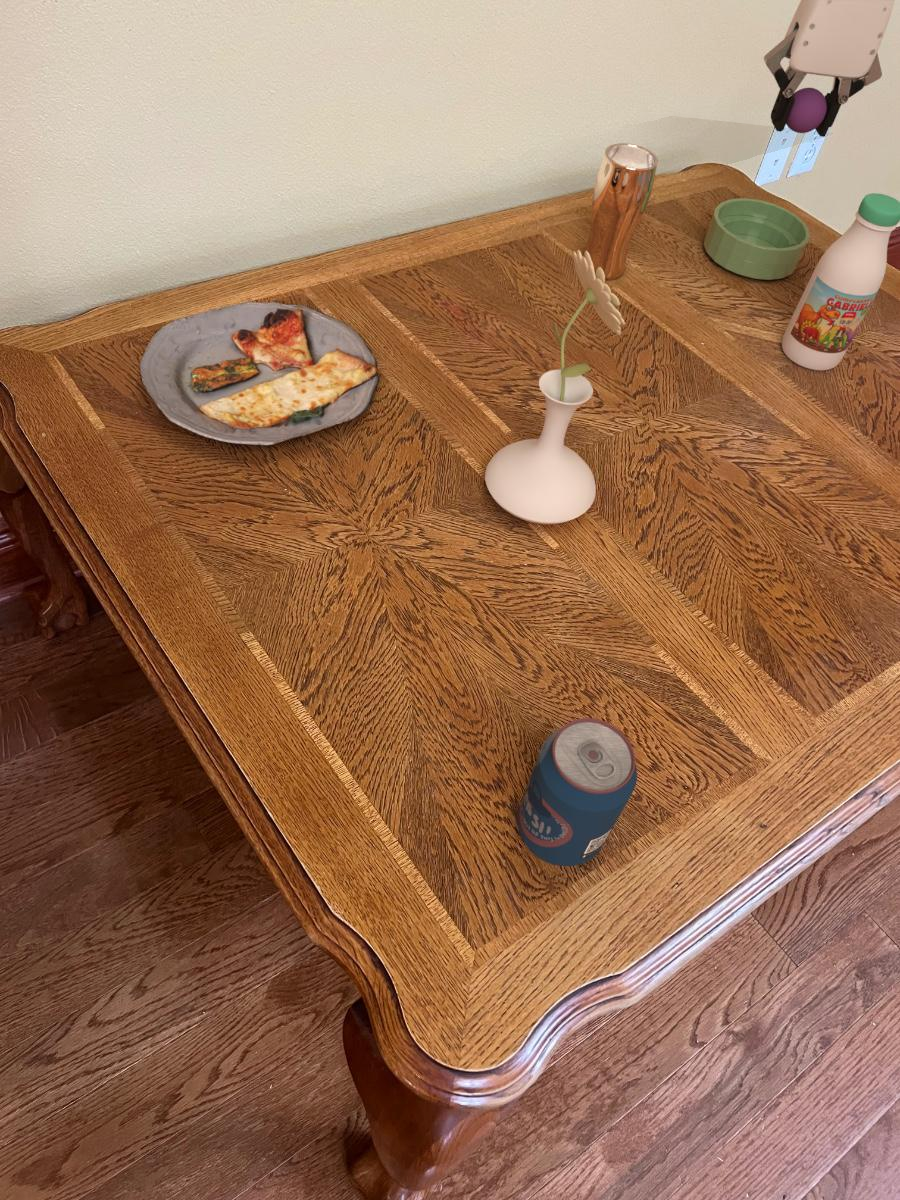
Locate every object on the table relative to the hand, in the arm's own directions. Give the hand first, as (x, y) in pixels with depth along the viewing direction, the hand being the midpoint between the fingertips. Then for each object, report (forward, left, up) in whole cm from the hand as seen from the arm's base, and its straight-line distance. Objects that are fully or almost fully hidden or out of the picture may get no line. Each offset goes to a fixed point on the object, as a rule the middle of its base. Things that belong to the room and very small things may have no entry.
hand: (798, 127), depth 118 cm
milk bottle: (-3, +22, -18) cm, 28 cm away
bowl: (0, 0, -18) cm, 18 cm away
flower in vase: (+35, +49, -18) cm, 63 cm away
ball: (0, 0, +2) cm, 2 cm away
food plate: (+64, +35, -18) cm, 75 cm away
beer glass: (+22, +6, -18) cm, 29 cm away
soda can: (+37, +87, -18) cm, 96 cm away
